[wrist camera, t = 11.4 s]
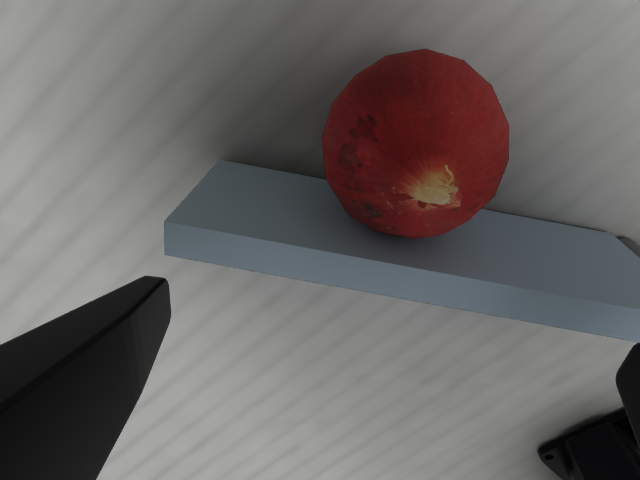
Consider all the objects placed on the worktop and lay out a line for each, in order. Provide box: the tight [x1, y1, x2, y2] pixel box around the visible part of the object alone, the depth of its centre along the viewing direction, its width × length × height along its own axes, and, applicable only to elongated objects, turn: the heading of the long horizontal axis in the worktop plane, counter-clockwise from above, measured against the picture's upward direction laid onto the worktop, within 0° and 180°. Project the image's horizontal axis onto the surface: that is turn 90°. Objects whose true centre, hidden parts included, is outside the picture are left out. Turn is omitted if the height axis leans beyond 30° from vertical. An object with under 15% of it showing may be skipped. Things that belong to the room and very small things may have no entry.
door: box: [164, 160, 640, 342], centre depth 16 cm, size 18×1×6 cm, turn 80°
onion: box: [322, 49, 509, 239], centre depth 13 cm, size 6×6×8 cm
